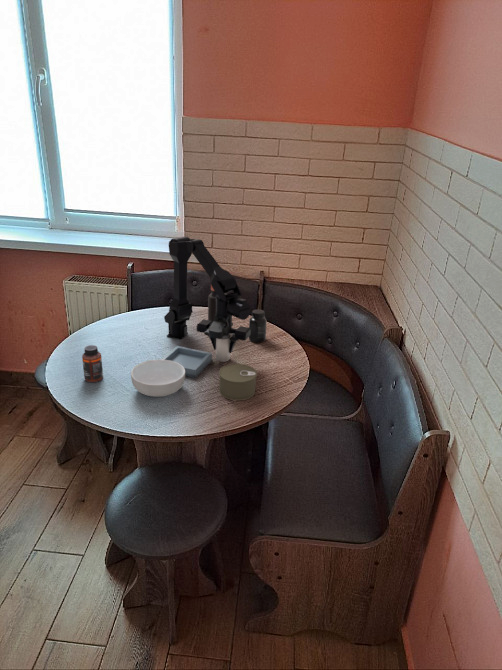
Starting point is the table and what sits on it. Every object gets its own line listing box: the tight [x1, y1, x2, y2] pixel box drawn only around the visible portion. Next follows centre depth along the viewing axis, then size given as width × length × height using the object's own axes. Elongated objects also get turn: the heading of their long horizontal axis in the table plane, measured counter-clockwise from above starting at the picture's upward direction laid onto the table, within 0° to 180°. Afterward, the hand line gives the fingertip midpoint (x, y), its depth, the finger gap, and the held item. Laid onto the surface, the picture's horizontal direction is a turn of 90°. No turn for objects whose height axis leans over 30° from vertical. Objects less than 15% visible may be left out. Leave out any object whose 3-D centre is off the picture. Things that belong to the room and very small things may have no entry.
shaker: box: [215, 333, 232, 363], centre depth 179 cm, size 5×5×10 cm
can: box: [218, 363, 258, 401], centre depth 159 cm, size 12×12×7 cm
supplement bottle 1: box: [81, 344, 104, 383], centre depth 161 cm, size 6×6×11 cm
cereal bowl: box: [130, 358, 186, 398], centre depth 157 cm, size 17×17×7 cm
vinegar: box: [207, 284, 216, 322], centre depth 199 cm, size 7×7×20 cm
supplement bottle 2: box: [248, 309, 268, 344], centre depth 195 cm, size 7×7×12 cm
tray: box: [161, 345, 213, 379], centre depth 174 cm, size 14×14×3 cm
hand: (222, 351), depth 179 cm, fingers open, 6 cm apart
